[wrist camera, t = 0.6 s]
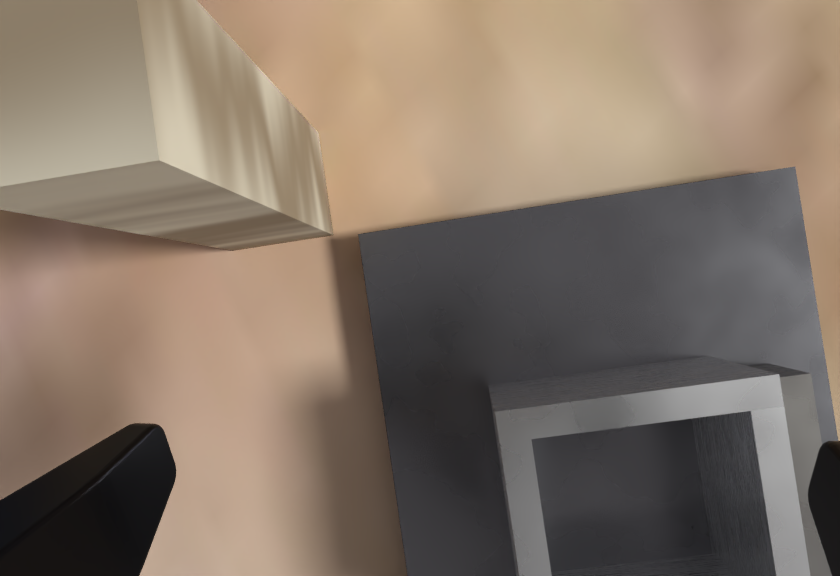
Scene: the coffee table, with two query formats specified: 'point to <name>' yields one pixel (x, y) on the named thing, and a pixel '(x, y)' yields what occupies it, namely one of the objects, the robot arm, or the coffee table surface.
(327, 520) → the coffee table surface
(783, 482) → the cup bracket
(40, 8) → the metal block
